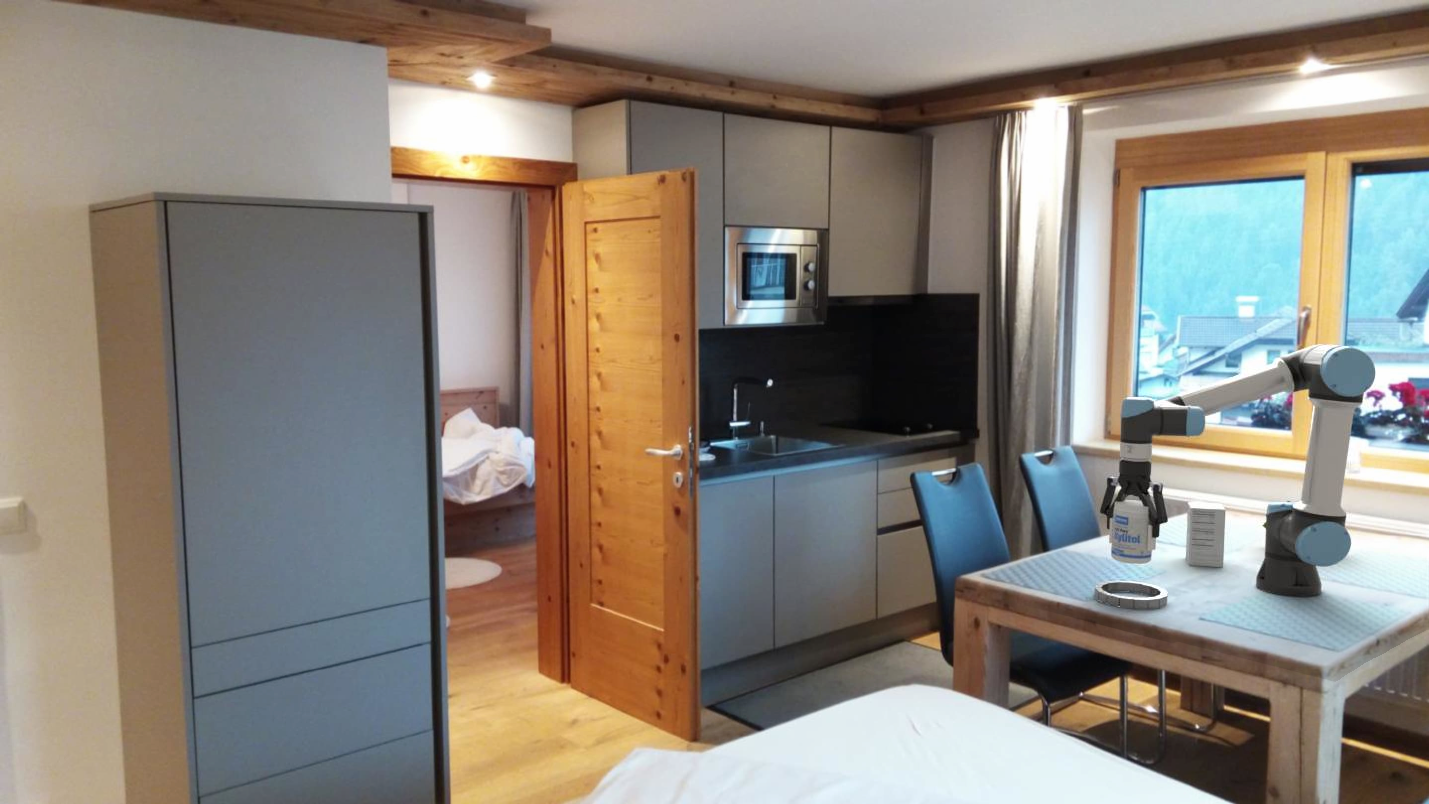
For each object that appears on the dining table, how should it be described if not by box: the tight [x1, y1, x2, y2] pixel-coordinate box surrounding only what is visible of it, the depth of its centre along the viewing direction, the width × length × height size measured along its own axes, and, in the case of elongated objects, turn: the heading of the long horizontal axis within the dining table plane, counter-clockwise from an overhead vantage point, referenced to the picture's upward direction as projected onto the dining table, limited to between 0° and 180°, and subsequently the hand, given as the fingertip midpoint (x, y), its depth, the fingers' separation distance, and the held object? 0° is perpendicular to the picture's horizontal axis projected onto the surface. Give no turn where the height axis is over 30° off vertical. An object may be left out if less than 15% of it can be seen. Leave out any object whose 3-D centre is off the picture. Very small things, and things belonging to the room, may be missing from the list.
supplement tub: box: [1110, 499, 1153, 565], centre depth 266 cm, size 10×10×15 cm
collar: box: [1094, 580, 1169, 610], centre depth 268 cm, size 17×17×2 cm
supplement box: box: [1185, 501, 1227, 568], centre depth 303 cm, size 10×9×17 cm
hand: (1131, 546), depth 267 cm, fingers closed on supplement tub, 10 cm apart
